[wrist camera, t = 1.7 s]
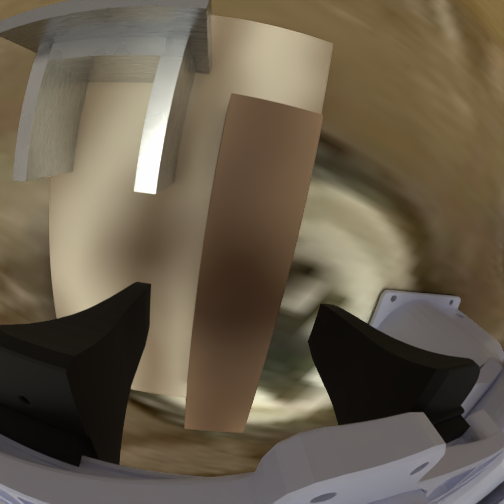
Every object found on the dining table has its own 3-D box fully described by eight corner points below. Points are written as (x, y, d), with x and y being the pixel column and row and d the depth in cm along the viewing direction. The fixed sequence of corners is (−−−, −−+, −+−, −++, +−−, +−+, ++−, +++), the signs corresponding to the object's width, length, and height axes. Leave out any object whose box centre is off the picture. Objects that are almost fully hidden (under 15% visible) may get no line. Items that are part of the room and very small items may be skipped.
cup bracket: (212, 64, 12) (211, -7, 5) (187, 184, 14) (162, 209, 7) (73, 60, 10) (1, 20, 4) (51, 170, 12) (-35, 189, 6)
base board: (326, 49, 13) (333, 43, 12) (249, 393, 20) (250, 402, 19) (95, 21, 10) (89, 15, 9) (72, 365, 17) (68, 373, 17)
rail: (295, 125, 13) (323, 115, 10) (237, 388, 18) (243, 432, 15) (226, 110, 13) (231, 92, 9) (187, 383, 18) (184, 428, 14)
